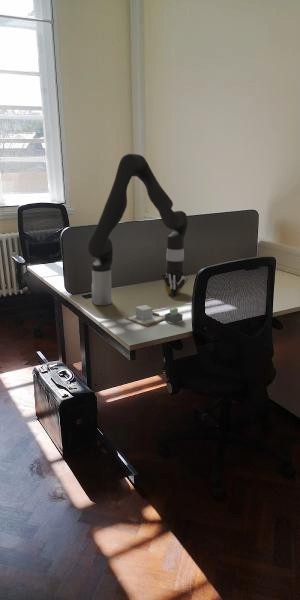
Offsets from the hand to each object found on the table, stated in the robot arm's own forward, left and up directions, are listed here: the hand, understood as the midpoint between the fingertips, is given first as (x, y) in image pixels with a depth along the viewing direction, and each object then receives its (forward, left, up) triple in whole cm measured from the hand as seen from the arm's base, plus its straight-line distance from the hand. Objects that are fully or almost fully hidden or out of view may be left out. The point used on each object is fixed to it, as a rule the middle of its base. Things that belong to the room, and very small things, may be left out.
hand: (174, 296), depth 191 cm
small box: (-11, -8, -11) cm, 17 cm away
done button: (0, 0, -10) cm, 10 cm away
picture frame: (-11, -7, -11) cm, 17 cm away
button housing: (0, 0, -11) cm, 11 cm away
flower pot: (-25, +30, -12) cm, 41 cm away
